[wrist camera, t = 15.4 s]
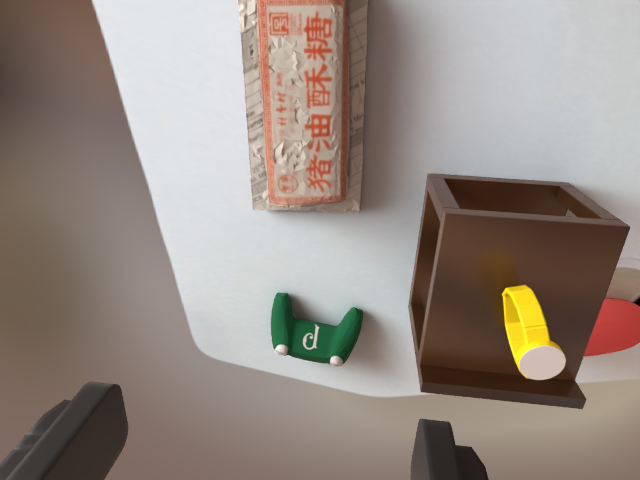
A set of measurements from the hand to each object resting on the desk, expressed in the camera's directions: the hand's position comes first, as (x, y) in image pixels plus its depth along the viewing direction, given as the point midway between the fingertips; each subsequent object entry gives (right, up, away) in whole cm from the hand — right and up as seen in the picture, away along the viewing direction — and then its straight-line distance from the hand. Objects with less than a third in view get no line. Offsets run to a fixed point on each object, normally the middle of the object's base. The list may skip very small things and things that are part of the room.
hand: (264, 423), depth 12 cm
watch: (+16, 0, +21) cm, 26 cm away
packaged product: (0, +16, +26) cm, 31 cm away
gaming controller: (+1, -4, +35) cm, 35 cm away
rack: (+17, +4, +29) cm, 34 cm away
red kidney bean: (+27, -2, +31) cm, 42 cm away
